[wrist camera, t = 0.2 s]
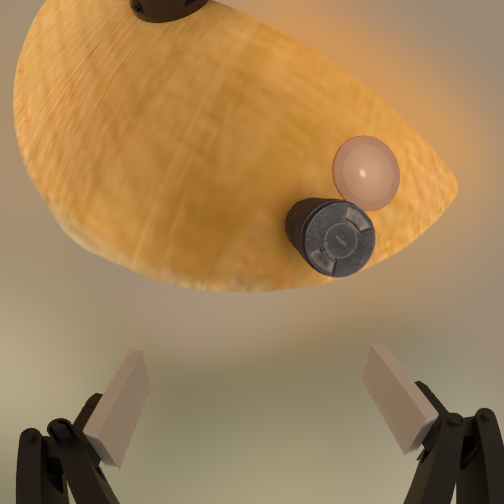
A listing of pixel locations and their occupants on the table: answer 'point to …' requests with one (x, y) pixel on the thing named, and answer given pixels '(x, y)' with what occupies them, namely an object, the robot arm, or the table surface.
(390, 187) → the plate
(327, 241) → the camera lens
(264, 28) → the table surface
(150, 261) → the table surface
